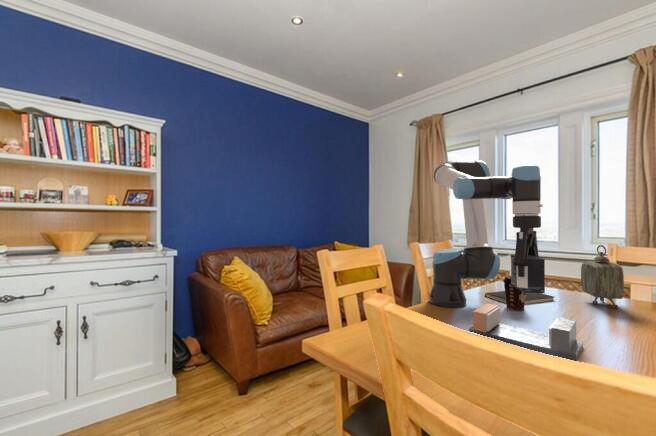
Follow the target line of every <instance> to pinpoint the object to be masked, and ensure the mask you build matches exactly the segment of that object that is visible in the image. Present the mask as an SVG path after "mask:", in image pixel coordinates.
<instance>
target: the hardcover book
mask: <svg viewBox="0 0 656 436" xmlns="http://www.w3.org/2000/svg"><path fill="white" fill-rule="evenodd" d="M484 297H487V298H490V299H493V300H496V301H499V302H502V303H505V304H506V298H505V297H506V296H505V290H502V291H500V290H499V291H490V292H484ZM552 301H555V296H554V295H549V294H546V293H526V298H525V304H524V305H527V304H535V303H543V302H552Z"/></svg>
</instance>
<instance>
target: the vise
mask: <svg viewBox="0 0 656 436" xmlns="http://www.w3.org/2000/svg"><path fill="white" fill-rule="evenodd" d="M469 331H470V332H474V333H477V334H480V335H483V336H487V337H491V338H494V339H497V340H501V341H504V342H503V343H505V342H507V343H506V344H509V343H510V344H509V345H513V344H514V346H517V345H518V347H521V348H525V349H528V350H533V351H538V352H540V353H544V354H545V353H546V354H548V355H552V356H557V357H560V358H565V359H568V360H572V361H575V362H576V361H577V360H578V358H579V356H580V354H581V352H582V350H583V348H584V342H583V341H581V340H577V319H571V318H567V317H561V316H559V317H558V318H556V319H555V320H554V322H553V323H552V324H551V325H550V326H549V329H548V331H549V333H545V332H540V331H536V330H530V329H526V328H523V327H517V326H512V325H507V324H503V323H501V322H500V323H499V324H497V325H496V326H495V327H494V328H492V329H491V330H490V331H487V332H486V333H485V332H481V331H477V330H473V325H472V326H471V327H469V328H468V332H469ZM497 340H496V341H497ZM501 341H500V342H501Z"/></svg>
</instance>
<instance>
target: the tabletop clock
mask: <svg viewBox="0 0 656 436" xmlns="http://www.w3.org/2000/svg"><path fill="white" fill-rule="evenodd" d="M596 247H597V248H596V252H597V254H598V256H595V257H594V259H593V260H592V261H590V260H589V261H586V262H583V263H581V267H580V268H581V269H580V283H581V284H580V285H581V290H582V291H583V292H585V293H587V294H588V295H589V296H591V297H594V299H593V300H592V304H593V305H598V299H599V301H601V302H605V300H606V299H607V300H609V301H610V303H611V304H612V306H613V308H614V309H619V306H618V304H616V303H615V301H614V300H613V299H615V300H622V299H623V297H624V292H625V291H624V289H625V288H624V287H625V281H624V280H625V277H624V270H623V267H622V266H621V265H620V264H618V263H616V262H613V261H610V259H609V258H608V257H607V256H606V255H607V248H606V247H605V245H603V244H598V246H596ZM600 247H601V248H603V249H604V251H599V249H600Z"/></svg>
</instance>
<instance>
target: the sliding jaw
mask: <svg viewBox="0 0 656 436" xmlns="http://www.w3.org/2000/svg"><path fill="white" fill-rule="evenodd" d="M500 308H501V307H499V305H498V304H497V305H496V304H493V303H492V304H491V303H485V304H482V305H481V306H479V307H477V308H476V309H474V310H473V311H472V326H473V330H477V331H481V332H485V333H486V332H487V331H490V330H491V329H492V328H494V327H495V326H496V325H497V324H499V323H500V324H501V310H500Z"/></svg>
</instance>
